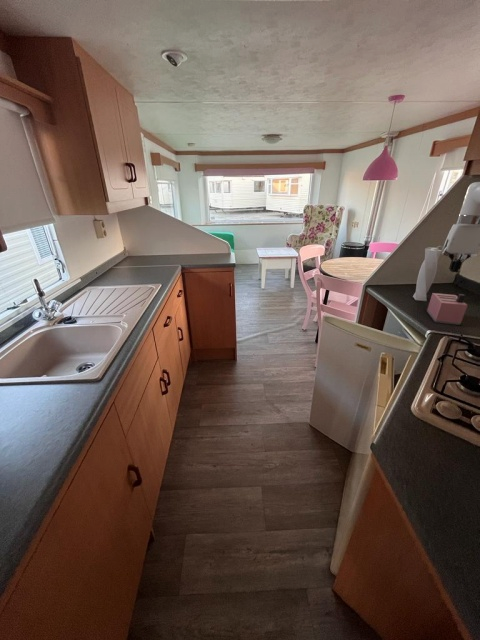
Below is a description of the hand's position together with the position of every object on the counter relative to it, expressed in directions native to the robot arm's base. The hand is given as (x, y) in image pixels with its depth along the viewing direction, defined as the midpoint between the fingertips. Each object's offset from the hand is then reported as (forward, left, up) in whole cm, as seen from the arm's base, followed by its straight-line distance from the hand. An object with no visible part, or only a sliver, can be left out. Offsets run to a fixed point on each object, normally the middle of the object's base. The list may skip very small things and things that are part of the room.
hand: (453, 271), depth 102 cm
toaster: (-5, -10, -23) cm, 26 cm away
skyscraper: (-2, -34, -23) cm, 41 cm away
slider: (-8, -7, -14) cm, 17 cm away
